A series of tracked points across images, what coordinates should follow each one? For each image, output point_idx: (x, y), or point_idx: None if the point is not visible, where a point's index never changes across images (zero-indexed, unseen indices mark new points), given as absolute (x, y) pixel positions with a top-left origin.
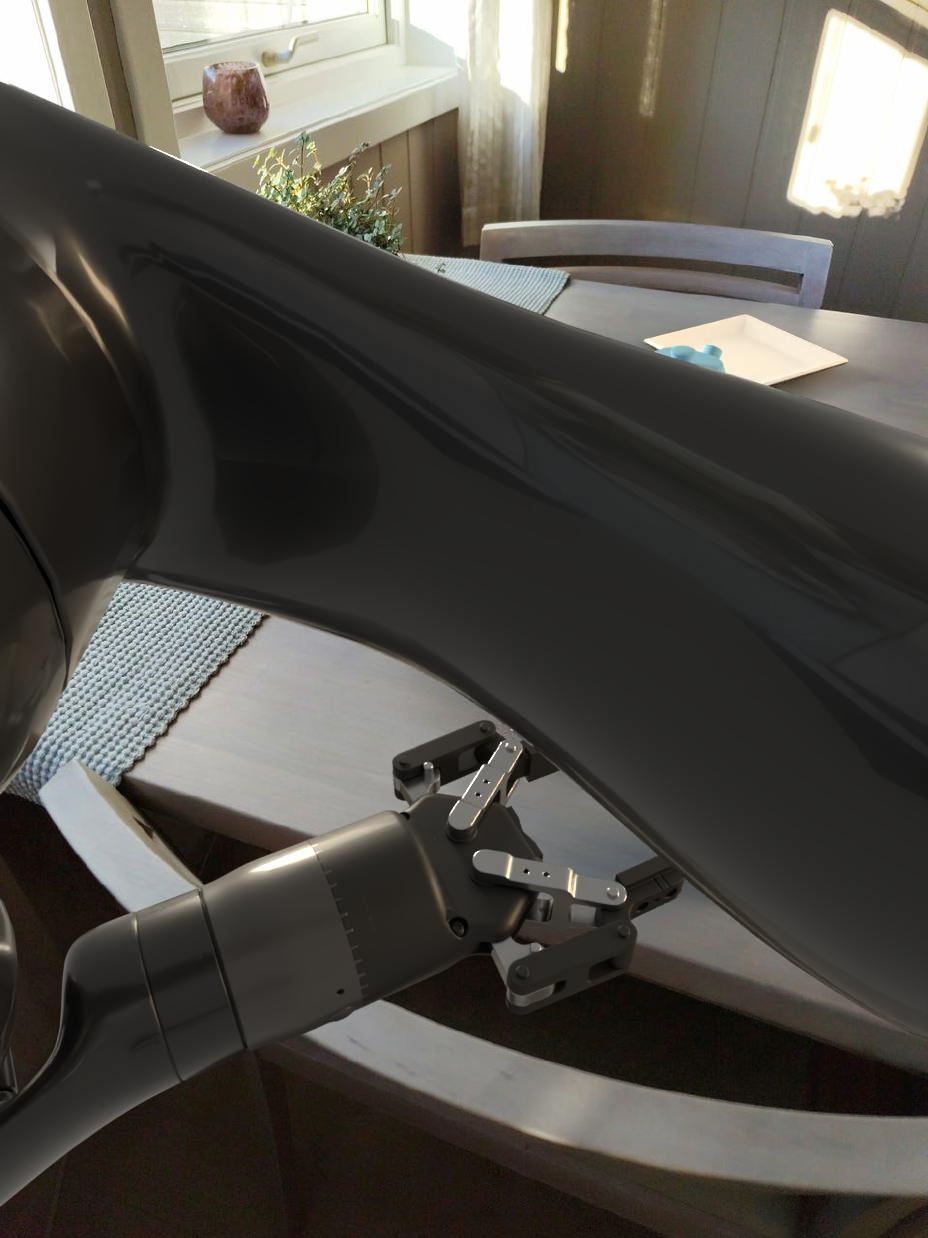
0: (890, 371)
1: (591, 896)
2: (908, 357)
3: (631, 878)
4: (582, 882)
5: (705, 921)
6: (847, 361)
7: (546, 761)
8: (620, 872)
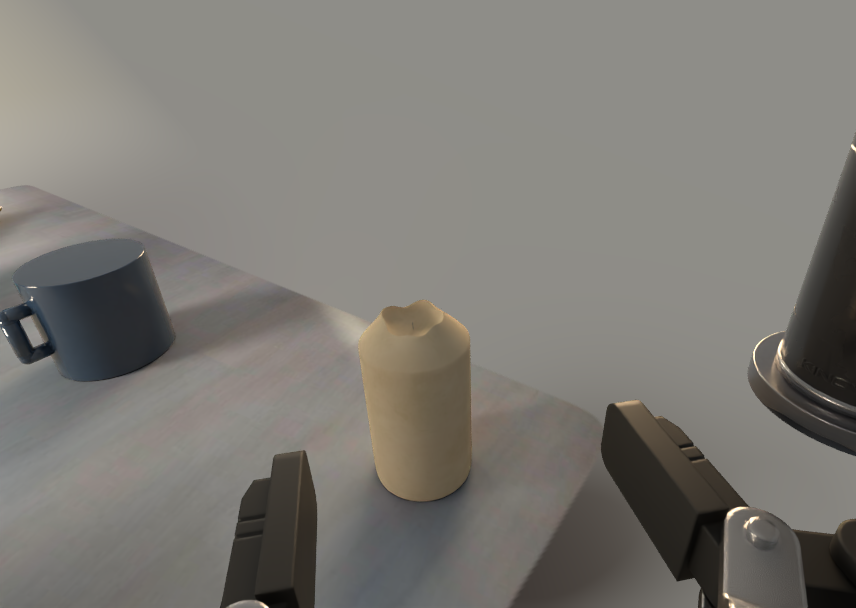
0: (42, 205)
1: (790, 584)
2: (44, 196)
3: (702, 489)
4: (745, 593)
5: (483, 543)
6: (1, 207)
7: (305, 570)
8: (690, 503)
